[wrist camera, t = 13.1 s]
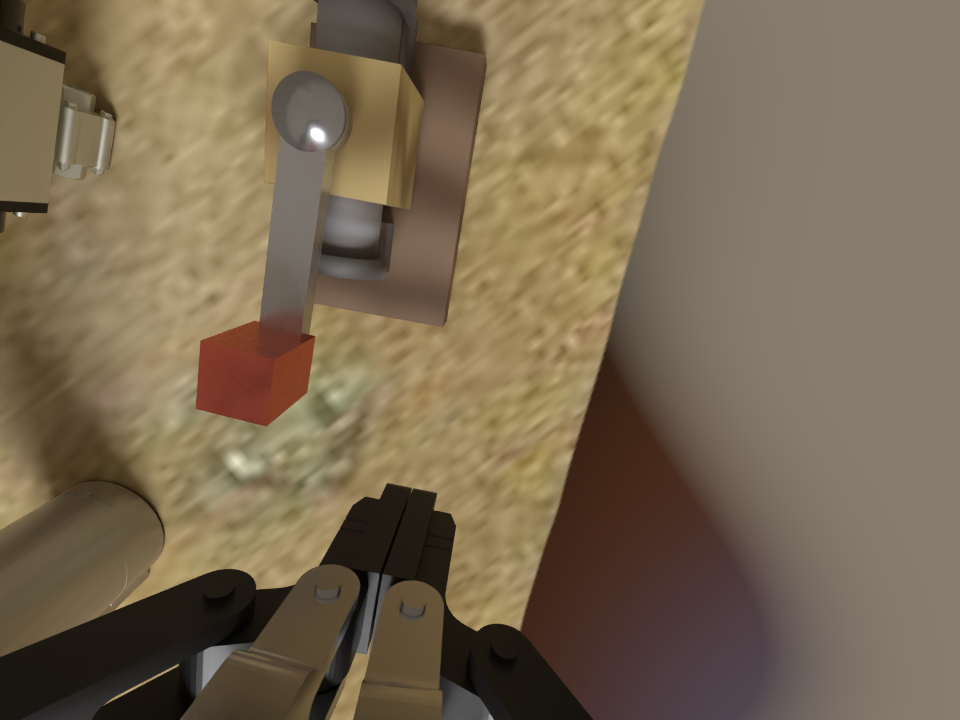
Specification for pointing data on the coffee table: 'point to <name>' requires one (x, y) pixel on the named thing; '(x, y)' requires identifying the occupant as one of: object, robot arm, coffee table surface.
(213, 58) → the coffee table surface
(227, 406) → the valve lever
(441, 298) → the valve pipe
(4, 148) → the pneumatic valve
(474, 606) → the coffee table surface
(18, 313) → the coffee table surface
